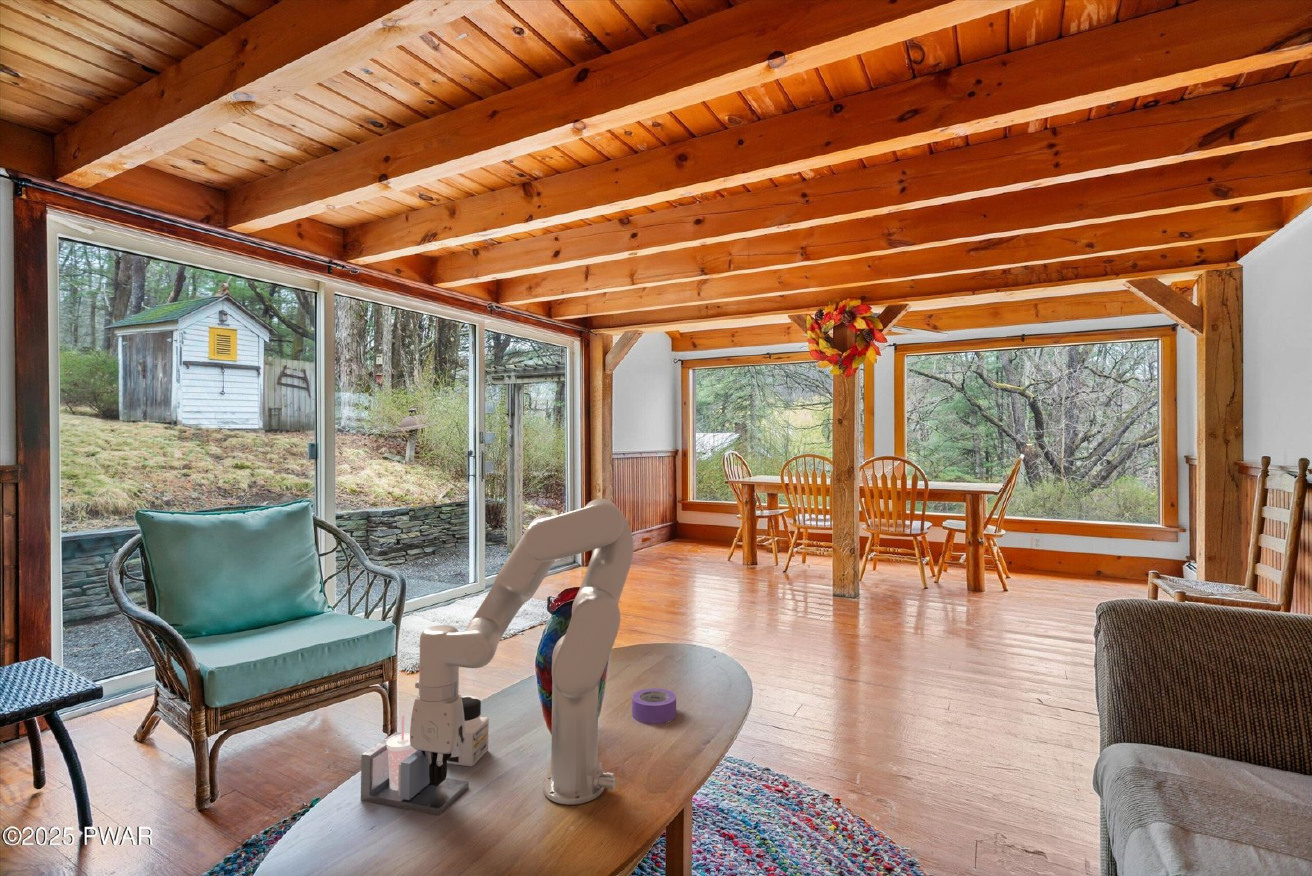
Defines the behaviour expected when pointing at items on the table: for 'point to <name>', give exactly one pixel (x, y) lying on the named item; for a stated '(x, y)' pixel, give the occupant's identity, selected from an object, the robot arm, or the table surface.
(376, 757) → the vise base
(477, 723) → the container
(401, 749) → the beverage cup
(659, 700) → the tape roll
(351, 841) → the table surface
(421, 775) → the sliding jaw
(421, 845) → the table surface
